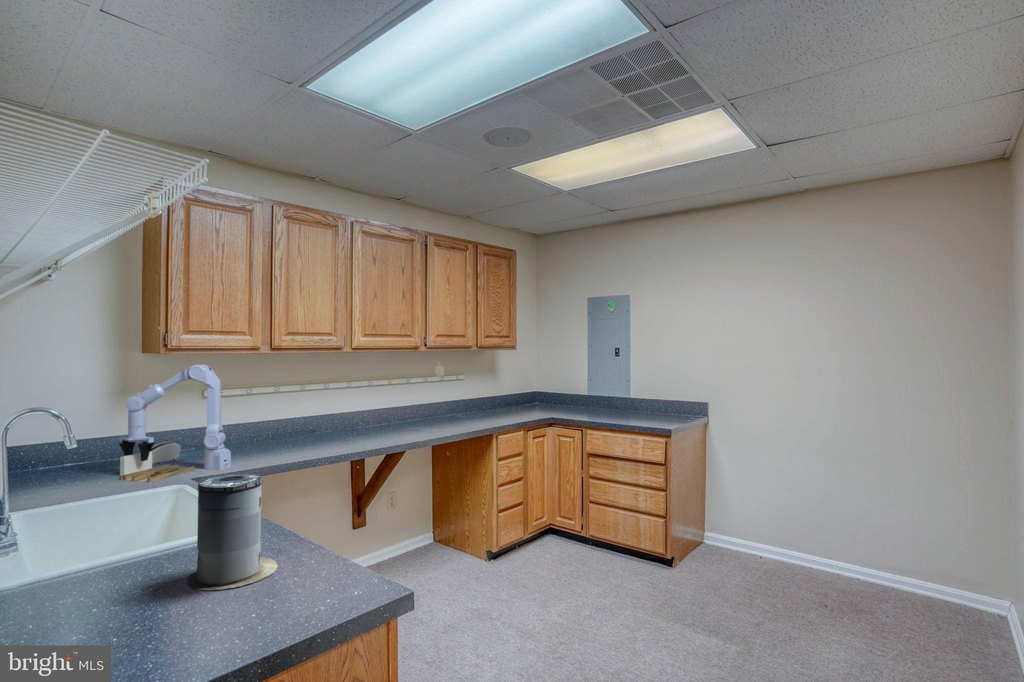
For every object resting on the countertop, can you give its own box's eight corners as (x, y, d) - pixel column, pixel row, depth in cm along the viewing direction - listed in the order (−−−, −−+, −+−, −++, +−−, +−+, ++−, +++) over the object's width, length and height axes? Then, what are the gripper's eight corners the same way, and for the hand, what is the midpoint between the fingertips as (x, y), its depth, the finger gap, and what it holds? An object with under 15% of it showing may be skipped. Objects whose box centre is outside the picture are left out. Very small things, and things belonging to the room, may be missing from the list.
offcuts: (180, 472, 207) (180, 467, 207) (158, 478, 197) (158, 473, 197) (172, 472, 208) (172, 467, 208) (149, 478, 198) (149, 472, 198)
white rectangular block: (152, 471, 214) (152, 451, 214) (124, 477, 202) (124, 457, 202) (148, 470, 214) (148, 451, 214) (119, 477, 203) (120, 457, 203)
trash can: (286, 554, 125) (285, 466, 125) (263, 587, 108) (262, 485, 108) (210, 560, 122) (209, 470, 123) (174, 595, 105) (173, 490, 105)
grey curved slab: (168, 458, 239) (175, 437, 239) (177, 462, 239) (184, 441, 238) (137, 466, 223) (144, 444, 223) (146, 470, 222) (153, 448, 222)
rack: (194, 472, 211) (194, 465, 211) (149, 484, 192) (149, 477, 192) (166, 470, 214) (166, 464, 215) (119, 482, 195) (119, 475, 195)
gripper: (112, 427, 206) (112, 461, 206) (142, 428, 203) (142, 463, 203) (129, 424, 213) (129, 457, 213) (158, 425, 210) (158, 459, 210)
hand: (136, 460), depth 208 cm, fingers open, 7 cm apart
